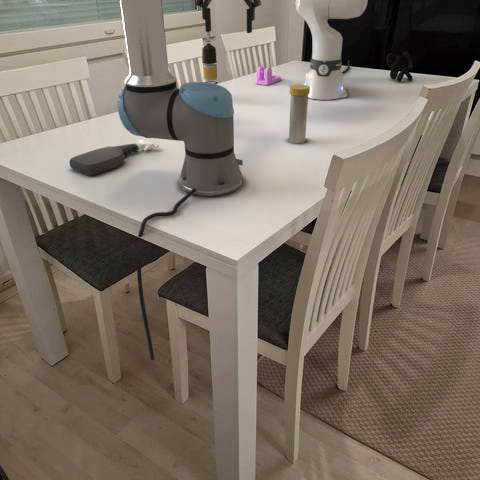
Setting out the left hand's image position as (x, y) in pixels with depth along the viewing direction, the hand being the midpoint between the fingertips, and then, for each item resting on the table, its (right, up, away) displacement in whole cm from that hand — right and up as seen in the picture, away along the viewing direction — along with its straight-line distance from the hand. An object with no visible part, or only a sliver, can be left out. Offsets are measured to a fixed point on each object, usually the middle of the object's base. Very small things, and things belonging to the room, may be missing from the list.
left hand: (228, 32), depth 139 cm
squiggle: (+76, +7, +62) cm, 98 cm away
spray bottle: (-31, -42, -14) cm, 54 cm away
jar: (+21, -35, -3) cm, 40 cm away
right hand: (+29, +10, -6) cm, 32 cm away
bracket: (+17, +7, +63) cm, 66 cm away
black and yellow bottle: (-8, -8, +40) cm, 42 cm away
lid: (+21, -21, -11) cm, 32 cm away
